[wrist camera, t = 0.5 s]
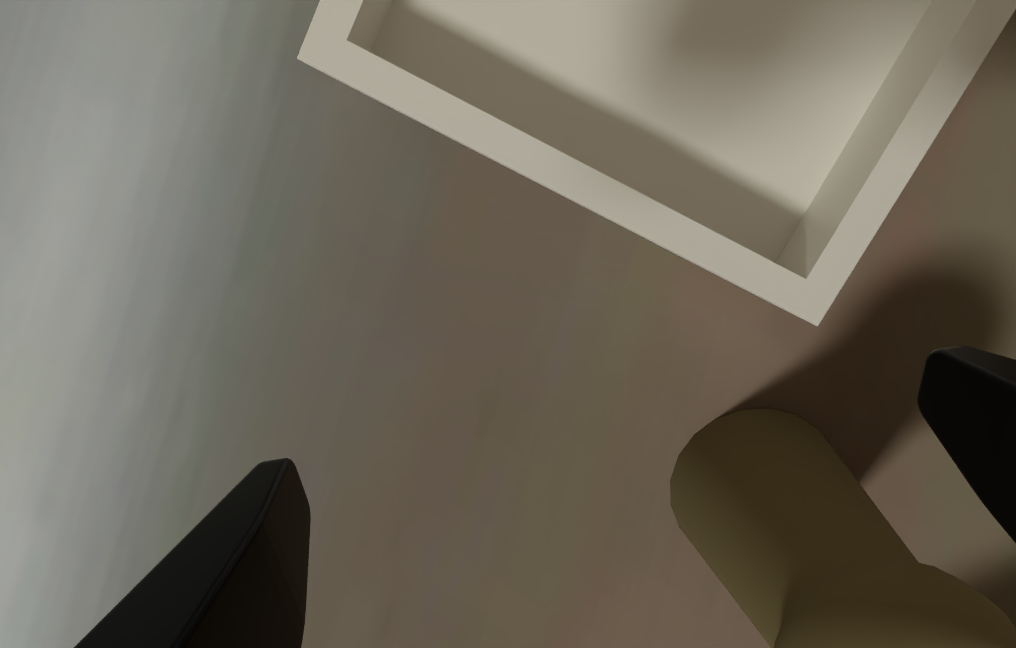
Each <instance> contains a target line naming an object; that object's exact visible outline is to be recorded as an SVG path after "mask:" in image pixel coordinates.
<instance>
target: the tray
mask: <svg viewBox="0 0 1016 648" xmlns="http://www.w3.org/2000/svg"><path fill="white" fill-rule="evenodd" d="M1015 9H1016V0H320V2H319V5H318V7H317V10H316V12H315V15H314V17H313V20H312V22H311V25H310V27H309V30H308V32H307V35H306V37H305V40H304V42H303V45H302V47H301V50H300V52H299V54H298V57H297V59H299V60H301V61H303V62H304V63H306V64H308V65H310V66H312V67H314V68H315V69H317V70H319V71H321V72H323V73H325V74H327V75H328V76H330V77H332V78H334V79H336V80H338V81H340V82H342V83H344V84H346V85H348V86H349V87H351V88H353V89H355V90H357V91H359V92H361V93H363V94H365V95H367V96H369V97H371V98H373V99H375V100H377V101H379V102H381V103H382V104H384V105H386V106H388V107H390V108H392V109H394V110H396V111H398V112H400V113H402V114H404V115H406V116H408V117H410V118H412V119H414V120H416V121H417V122H419V123H421V124H423V125H425V126H427V127H429V128H431V129H433V130H435V131H437V132H439V133H441V134H443V135H445V136H447V137H449V138H451V139H452V140H454V141H456V142H458V143H460V144H462V145H464V146H466V147H468V148H470V149H472V150H474V151H476V152H478V153H480V154H482V155H484V156H486V157H487V158H489V159H491V160H493V161H495V162H497V163H499V164H501V165H503V166H505V167H507V168H509V169H511V170H513V171H515V172H517V173H519V174H520V175H522V176H524V177H526V178H528V179H530V180H532V181H534V182H536V183H538V184H540V185H542V186H544V187H546V188H548V189H550V190H552V191H554V192H555V193H557V194H559V195H561V196H563V197H565V198H567V199H569V200H571V201H573V202H575V203H577V204H579V205H581V206H583V207H585V208H587V209H589V210H590V211H592V212H594V213H596V214H598V215H600V216H602V217H604V218H606V219H608V220H610V221H612V222H614V223H616V224H618V225H620V226H622V227H624V228H625V229H627V230H629V231H631V232H633V233H635V234H637V235H639V236H641V237H643V238H645V239H647V240H649V241H651V242H653V243H655V244H657V245H658V246H660V247H662V248H664V249H666V250H668V251H670V252H672V253H674V254H676V255H678V256H680V257H682V258H684V259H686V260H688V261H690V262H692V263H693V264H695V265H697V266H699V267H701V268H703V269H705V270H707V271H709V272H711V273H713V274H715V275H717V276H719V277H721V278H723V279H725V280H727V281H728V282H730V283H732V284H734V285H736V286H738V287H740V288H742V289H744V290H746V291H748V292H750V293H752V294H754V295H756V296H758V297H760V298H762V299H763V300H765V301H767V302H769V303H771V304H773V305H775V306H777V307H779V308H781V309H783V310H785V311H787V312H789V313H791V314H793V315H795V316H798V317H800V318H802V319H804V320H806V321H808V322H810V323H812V324H814V325H816V326H818V325H819V323H820V322H821V320H822V318H823V317H824V315H825V314H826V312H827V310H828V309H829V307H830V306H831V304H832V302H833V301H834V299H835V298H836V296H837V294H838V293H839V291H840V290H841V288H842V286H843V285H844V283H845V282H846V280H847V278H848V277H849V275H850V274H851V272H852V270H853V269H854V267H855V266H856V264H857V262H858V261H859V259H860V258H861V256H862V254H863V253H864V251H865V250H866V248H867V246H868V245H869V243H870V242H871V240H872V238H873V237H874V235H875V234H876V232H877V230H878V229H879V227H880V226H881V224H882V222H883V221H884V219H885V218H886V216H887V214H888V213H889V211H890V210H891V208H892V206H893V205H894V203H895V202H896V200H897V198H898V197H899V195H900V194H901V192H902V190H903V189H904V187H905V185H906V184H907V182H908V181H909V179H910V177H911V176H912V174H913V173H914V171H915V169H916V168H917V166H918V165H919V163H920V161H921V160H922V158H923V157H924V155H925V153H926V152H927V150H928V149H929V147H930V145H931V144H932V142H933V141H934V139H935V137H936V136H937V134H938V133H939V131H940V129H941V128H942V126H943V125H944V123H945V121H946V120H947V118H948V117H949V115H950V113H951V112H952V110H953V109H954V107H955V105H956V104H957V102H958V101H959V99H960V97H961V96H962V94H963V93H964V91H965V89H966V88H967V86H968V85H969V83H970V81H971V80H972V78H973V77H974V75H975V73H976V72H977V70H978V69H979V67H980V65H981V64H982V62H983V61H984V59H985V57H986V56H987V54H988V53H989V51H990V49H991V48H992V46H993V45H994V43H995V41H996V40H997V38H998V37H999V35H1000V33H1001V32H1002V30H1003V29H1004V27H1005V25H1006V24H1007V22H1008V21H1009V19H1010V17H1011V16H1012V14H1013V13H1014V11H1015Z"/></svg>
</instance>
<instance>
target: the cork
mask: <svg viewBox="0 0 1016 648" xmlns="http://www.w3.org/2000/svg"><path fill="white" fill-rule="evenodd" d="M670 486H671V506H672V509H673V512H674V514H675V517H676V519H677V522H678V525H679V527H680V528H681V530H682V531H683V532H684V534H685V535H686V536H687V538H688V539H689V540H690V542H691V543H692V544H693V546H694V547H695V548H696V549H697V551H698V552H699V553H700V555H701V556H702V557H703V559H704V560H705V561H706V563H707V564H708V565H709V567H710V568H711V569H712V570H713V572H714V573H715V574H716V576H717V577H718V578H719V580H720V581H721V582H722V584H723V585H724V586H725V588H726V589H727V590H728V591H729V593H730V594H731V595H732V597H733V598H734V599H735V601H736V602H737V603H738V605H739V606H740V607H741V609H742V610H743V611H744V612H745V614H746V615H747V616H748V618H749V619H750V620H751V622H752V623H753V624H754V626H755V627H756V628H757V630H758V631H759V632H760V633H761V635H762V636H763V637H764V639H765V640H766V641H767V643H768V644H769V645H770V647H771V648H1016V627H1015V626H1014V624H1013V623H1012V622H1011V620H1010V619H1009V618H1008V616H1007V615H1006V614H1005V613H1004V612H1003V611H1002V610H1001V609H1000V608H999V607H998V606H996V605H995V604H994V603H993V602H992V601H991V600H989V599H988V598H987V597H986V596H985V595H983V594H982V593H980V592H979V591H977V590H975V589H974V588H972V587H971V586H969V585H967V584H966V583H964V582H962V581H961V580H959V579H958V578H956V577H954V576H952V575H950V574H948V573H946V572H944V571H942V570H940V569H938V568H936V567H934V566H930V565H926V564H922V563H918V561H917V560H916V559H915V557H914V556H913V555H912V553H911V552H910V551H909V549H908V548H907V547H906V545H905V544H904V543H903V541H902V540H901V539H900V537H899V536H898V535H897V533H896V532H895V531H894V529H893V528H892V527H891V525H890V524H889V523H888V521H887V520H886V519H885V517H884V516H883V515H882V513H881V512H880V510H879V509H878V508H877V506H876V505H875V504H874V502H873V501H872V500H871V498H870V497H869V496H868V494H867V493H866V492H865V490H864V489H863V488H862V486H861V485H860V484H859V482H858V481H857V480H856V478H855V477H854V476H853V474H852V473H851V472H850V470H849V469H848V468H847V466H846V465H845V464H844V462H843V461H842V460H841V458H840V457H839V456H838V454H837V453H836V452H835V450H834V449H833V448H832V446H831V445H830V444H829V443H828V441H827V440H826V439H825V438H824V436H823V435H822V434H821V433H820V431H819V430H818V429H817V428H816V427H814V426H813V425H811V424H810V423H808V422H806V421H805V420H803V419H802V418H800V417H798V416H797V415H795V414H791V413H787V412H783V411H779V410H775V409H771V408H764V409H747V410H740V411H737V412H734V413H732V414H729V415H726V416H723V417H721V418H718V419H715V420H714V421H713V422H711V423H710V424H709V425H707V426H706V427H705V428H703V429H702V430H701V431H699V432H698V433H696V434H695V435H694V436H693V437H692V439H691V440H690V441H689V443H688V444H687V445H686V447H685V448H684V449H683V451H682V452H681V454H680V455H679V456H678V459H677V462H676V465H675V468H674V471H673V474H672V477H671V480H670Z"/></svg>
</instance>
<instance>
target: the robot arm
mask: <svg viewBox="0 0 1016 648" xmlns="http://www.w3.org/2000/svg"><path fill="white" fill-rule="evenodd" d="M918 406H919V409H920V412H921V414H922V416H923V417H924V419H925V420H926V422H927V423H928V424H929V426H930V427H931V429H932V430H933V432H934V433H935V435H936V436H937V438H938V439H939V441H940V442H941V444H942V445H943V446H944V448H945V449H946V451H947V452H948V454H949V455H950V457H951V458H952V460H953V461H954V463H955V464H956V465H957V467H958V468H959V470H960V471H961V473H962V474H963V476H964V477H965V479H966V480H967V482H968V483H969V485H970V486H971V487H972V489H973V490H974V492H975V493H976V494H977V496H978V497H979V499H980V500H981V501H982V503H983V504H984V505H985V507H986V508H987V509H988V510H989V512H990V513H991V514H992V515H993V517H994V518H995V519H996V520H997V521H998V523H999V524H1000V525H1001V526H1002V527H1003V529H1004V530H1005V531H1006V532H1007V533H1008V535H1009V536H1010V537H1011V538H1012V539H1013V541H1014V542H1015V543H1016V360H1014V359H1011V358H1007V357H1004V356H1000V355H997V354H993V353H989V352H986V351H982V350H979V349H975V348H972V347H968V346H962V345H958V346H952V347H946V348H940V349H935V350H934V351H932V352H931V353H930V354H929V355H928V356H927V359H926V363H925V367H924V371H923V375H922V380H921V384H920V388H919V393H918ZM310 519H311V517H310V507H309V503H308V499H307V497H306V494H305V491H304V488H303V485H302V483H301V480H300V477H299V474H298V472H297V469H296V466H295V464H294V463H293V461H292V460H290V459H288V458H283V459H277V460H271V461H265V462H261V463H259V464H258V465H257V466H255V467H254V468H253V469H252V470H251V471H250V472H249V473H248V474H247V475H246V476H245V477H244V478H243V479H242V480H241V481H240V482H239V483H238V484H237V485H236V486H235V487H234V488H233V489H232V490H231V491H230V492H229V493H228V494H227V495H226V496H225V497H224V498H223V499H222V500H221V501H220V502H219V503H218V504H217V505H216V506H215V507H214V508H213V509H212V510H211V511H210V512H209V513H208V514H207V515H206V516H205V517H204V518H203V519H202V520H201V521H200V522H199V523H198V524H197V525H196V526H195V527H194V528H193V529H192V530H191V531H190V532H189V533H188V534H187V535H186V536H185V537H184V538H183V539H182V540H181V541H180V542H179V543H178V544H177V545H176V546H175V547H174V548H173V549H172V550H171V551H170V552H169V553H168V554H167V555H166V556H165V557H164V558H163V559H162V560H161V561H160V562H159V563H158V564H157V565H156V566H155V567H154V568H153V569H152V570H151V571H150V572H149V573H148V574H147V575H146V576H145V577H144V578H143V579H142V580H141V581H140V582H139V583H138V584H137V585H136V586H135V587H134V588H133V589H132V590H131V591H130V592H129V593H128V594H127V595H126V596H125V597H124V598H123V599H122V600H121V601H120V602H119V603H118V604H117V605H116V606H115V607H114V608H113V609H112V610H111V611H110V612H109V613H108V614H107V615H106V616H105V617H104V618H103V619H102V620H101V621H100V622H99V623H98V624H97V625H96V626H95V627H94V628H93V629H92V630H91V631H90V632H89V633H88V634H87V635H86V636H85V637H84V638H83V639H82V640H81V641H80V642H79V643H78V644H77V645H76V646H75V647H74V648H301V645H302V639H303V632H304V625H305V612H306V596H307V577H308V558H309V539H310Z"/></svg>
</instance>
